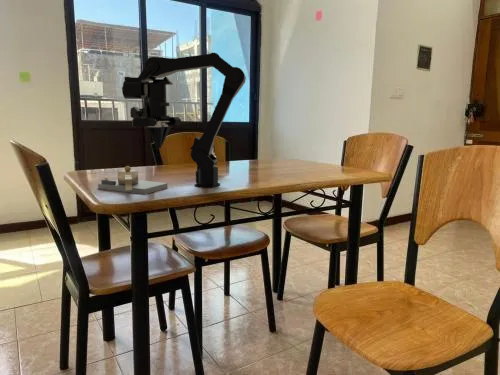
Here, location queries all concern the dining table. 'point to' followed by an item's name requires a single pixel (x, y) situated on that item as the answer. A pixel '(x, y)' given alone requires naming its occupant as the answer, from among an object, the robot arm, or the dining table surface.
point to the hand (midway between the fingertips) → (158, 148)
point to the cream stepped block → (128, 177)
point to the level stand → (139, 187)
